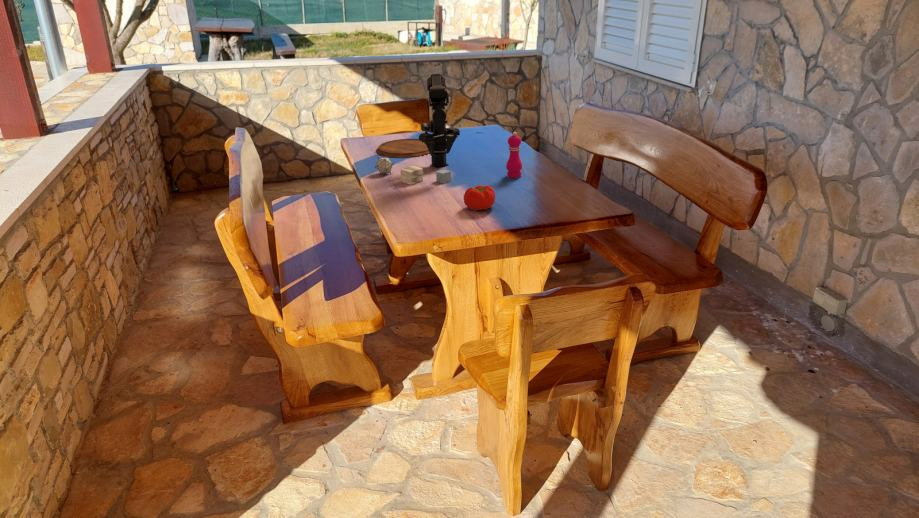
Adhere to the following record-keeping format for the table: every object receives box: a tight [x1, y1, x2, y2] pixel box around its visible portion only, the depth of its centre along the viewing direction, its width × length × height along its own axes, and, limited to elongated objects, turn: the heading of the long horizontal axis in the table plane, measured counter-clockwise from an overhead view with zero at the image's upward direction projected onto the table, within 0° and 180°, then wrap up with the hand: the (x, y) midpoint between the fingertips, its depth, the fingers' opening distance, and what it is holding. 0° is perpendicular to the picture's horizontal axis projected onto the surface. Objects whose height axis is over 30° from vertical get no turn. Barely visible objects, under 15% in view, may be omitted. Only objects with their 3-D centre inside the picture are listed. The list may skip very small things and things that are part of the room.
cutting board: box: [376, 138, 430, 159], centre depth 329 cm, size 32×32×2 cm
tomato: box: [463, 184, 496, 211], centre depth 245 cm, size 13×12×8 cm
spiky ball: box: [374, 156, 395, 176], centre depth 290 cm, size 9×8×10 cm
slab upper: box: [400, 165, 424, 179], centre depth 278 cm, size 7×7×3 cm
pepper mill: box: [505, 131, 523, 179], centre depth 279 cm, size 7×7×20 cm
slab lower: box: [399, 174, 424, 186], centre depth 280 cm, size 7×7×3 cm
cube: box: [435, 169, 452, 184], centre depth 278 cm, size 4×4×4 cm
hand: (440, 154), depth 274 cm, fingers open, 9 cm apart
